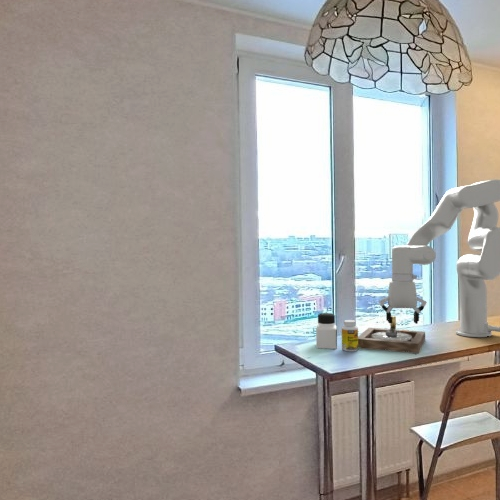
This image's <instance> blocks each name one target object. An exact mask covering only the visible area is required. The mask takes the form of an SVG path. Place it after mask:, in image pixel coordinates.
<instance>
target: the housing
mask: <svg viewBox="0 0 500 500" xmlns="http://www.w3.org/2000/svg"><path fill="white" fill-rule="evenodd" d="M389 330H390V328H379V327H368V328H366V329H365V330H364V331H363V332H362V333H360V335H359V334H358V349H367V350H377V351H378V350H379V351H389V352H398V353H410V354H411V353H412V354H420V352H421V350H422V347H423V346H424V344H425V342H426V331H424V330H423V331H422V330H420V331H419V330H410V329H396V330H395V331H396V332H398V333H405V334H408V335H411V336H412V342H410V341H397V340H385V339H373V338H372V334H374V333H378V332H386V331H389Z"/></svg>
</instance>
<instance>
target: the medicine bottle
mask: <svg viewBox="0 0 500 500" xmlns="http://www.w3.org/2000/svg"><path fill="white" fill-rule="evenodd" d="M315 329H316V330H315V332H316V333H315V334H316V335H315V336H316V337H315V338H316V339H315V341H316V342H315V343H316V345H315V347H316V349H321V348H327V349H329V350H336V349H338V335H337V334H338V333H337V329H338V326H337V325H336V315H335V314H334V313H332V312H321V313H319V314H318V315H317V325H316V328H315Z"/></svg>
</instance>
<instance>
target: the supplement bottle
mask: <svg viewBox="0 0 500 500" xmlns="http://www.w3.org/2000/svg"><path fill="white" fill-rule="evenodd" d="M356 325H357V324H356V320H354V319H353V320H352V319H346V320H343V325H342V327H341V349H342V350H343V352H344V351H345V352H351V353H352V352H357V351H358V350H359V348H358V336H359V327H358V326H356Z"/></svg>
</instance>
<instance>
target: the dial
mask: <svg viewBox="0 0 500 500" xmlns="http://www.w3.org/2000/svg"><path fill="white" fill-rule="evenodd" d="M389 324H390V325H389V326H390V327H389V329H390V330H389V331H386V332H378V333H374V334H372V338H373V339H385V340H397V341H410V342H412V336H411V335H408V334H405V333H398V332H396V331H395V330H397V316H395V315H393V316H392V315H391V323H389Z"/></svg>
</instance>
